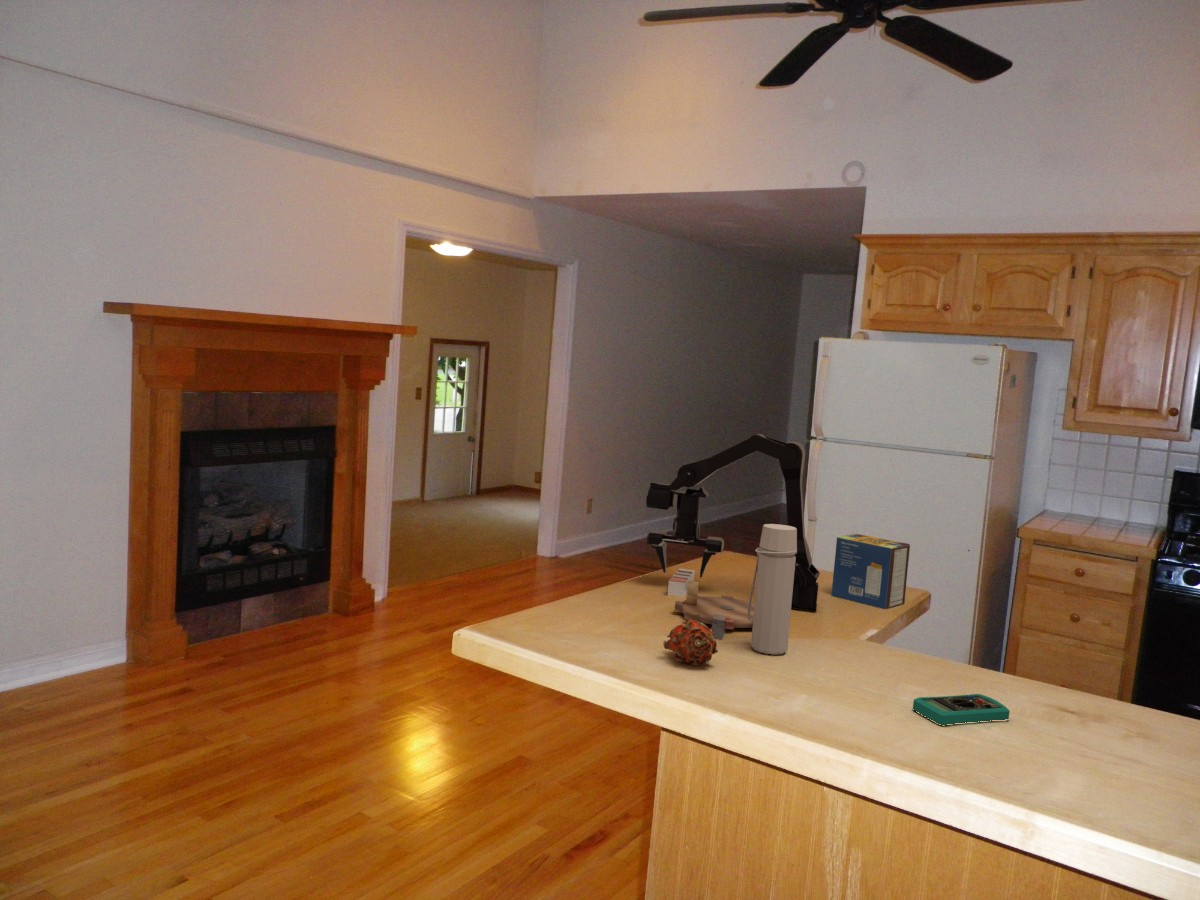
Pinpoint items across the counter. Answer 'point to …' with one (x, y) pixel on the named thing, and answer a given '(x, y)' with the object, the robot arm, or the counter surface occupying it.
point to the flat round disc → (715, 608)
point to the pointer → (718, 626)
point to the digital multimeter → (960, 709)
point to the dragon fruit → (692, 643)
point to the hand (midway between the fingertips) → (682, 574)
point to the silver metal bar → (680, 582)
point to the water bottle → (773, 588)
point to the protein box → (870, 570)
